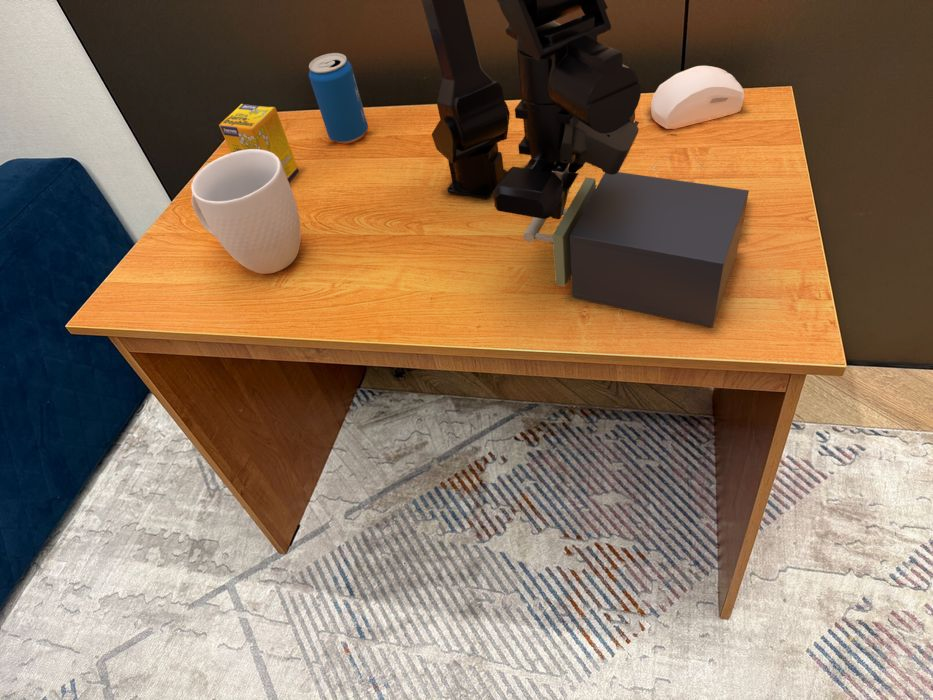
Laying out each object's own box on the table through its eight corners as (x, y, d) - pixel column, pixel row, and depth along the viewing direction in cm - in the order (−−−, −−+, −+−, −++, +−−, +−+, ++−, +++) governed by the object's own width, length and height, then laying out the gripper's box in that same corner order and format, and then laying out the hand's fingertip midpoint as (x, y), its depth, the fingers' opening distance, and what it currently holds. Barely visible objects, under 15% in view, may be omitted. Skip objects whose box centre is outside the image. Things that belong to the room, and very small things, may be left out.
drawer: (517, 276, 82) (511, 227, 76) (551, 220, 88) (547, 171, 82) (683, 311, 74) (689, 260, 69) (706, 247, 80) (714, 195, 75)
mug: (194, 274, 92) (146, 193, 83) (239, 223, 99) (200, 142, 89) (286, 292, 87) (247, 207, 78) (329, 236, 94) (297, 152, 84)
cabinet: (572, 297, 79) (569, 235, 73) (605, 232, 86) (605, 169, 79) (712, 328, 73) (723, 263, 67) (736, 255, 80) (749, 190, 73)
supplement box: (246, 190, 104) (217, 125, 96) (268, 167, 108) (241, 102, 100) (279, 195, 102) (251, 128, 94) (300, 171, 106) (275, 105, 98)
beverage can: (366, 143, 108) (346, 69, 99) (326, 148, 109) (302, 75, 100) (371, 121, 113) (351, 49, 104) (332, 126, 113) (309, 54, 104)
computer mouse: (747, 111, 99) (755, 69, 94) (660, 133, 99) (663, 92, 94) (727, 91, 103) (732, 49, 99) (643, 111, 103) (645, 71, 98)
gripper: (598, 153, 60) (598, 285, 71) (657, 50, 70) (649, 180, 82) (482, 137, 64) (500, 264, 76) (554, 43, 75) (560, 167, 86)
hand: (557, 217), depth 80 cm, fingers closed
